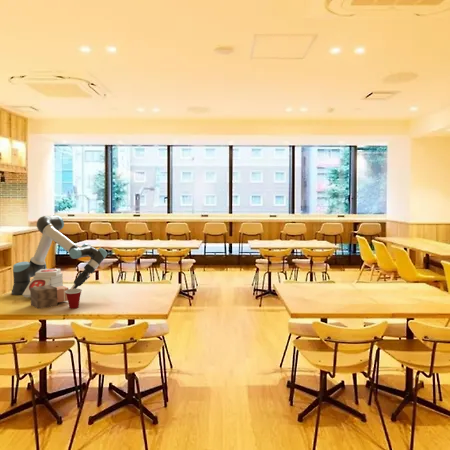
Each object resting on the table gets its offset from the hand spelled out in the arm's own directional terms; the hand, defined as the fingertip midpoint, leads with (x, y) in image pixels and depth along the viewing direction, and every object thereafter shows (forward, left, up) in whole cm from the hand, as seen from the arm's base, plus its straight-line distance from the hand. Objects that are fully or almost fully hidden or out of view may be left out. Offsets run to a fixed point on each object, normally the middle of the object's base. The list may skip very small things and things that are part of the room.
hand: (70, 292), depth 316 cm
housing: (-8, -16, -6) cm, 19 cm away
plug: (-4, -8, -5) cm, 10 cm away
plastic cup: (+16, -15, -6) cm, 22 cm away
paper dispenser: (-29, +6, -6) cm, 31 cm away
